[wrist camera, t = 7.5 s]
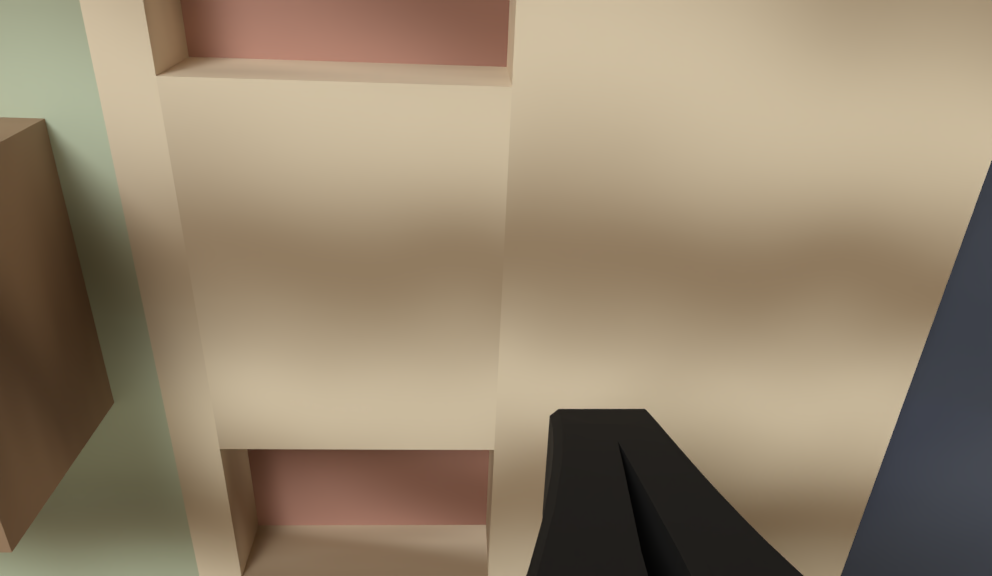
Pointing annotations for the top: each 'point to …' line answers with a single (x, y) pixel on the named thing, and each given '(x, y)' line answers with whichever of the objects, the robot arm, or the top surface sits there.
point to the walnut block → (41, 333)
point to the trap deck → (488, 261)
